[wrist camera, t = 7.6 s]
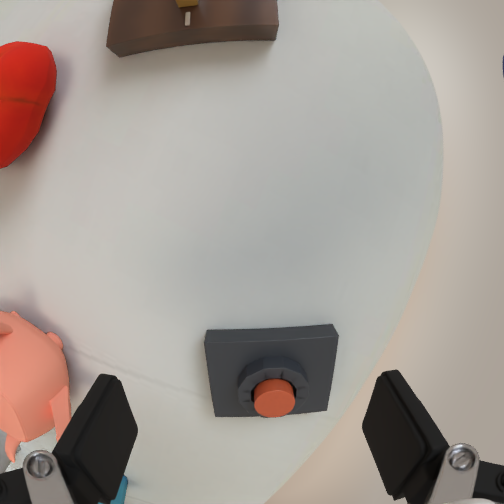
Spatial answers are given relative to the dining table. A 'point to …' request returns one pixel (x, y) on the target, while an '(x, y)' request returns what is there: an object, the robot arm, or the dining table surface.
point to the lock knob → (186, 3)
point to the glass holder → (0, 456)
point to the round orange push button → (274, 397)
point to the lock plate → (188, 23)
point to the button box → (270, 366)
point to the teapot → (31, 382)
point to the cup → (120, 492)
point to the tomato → (23, 95)
